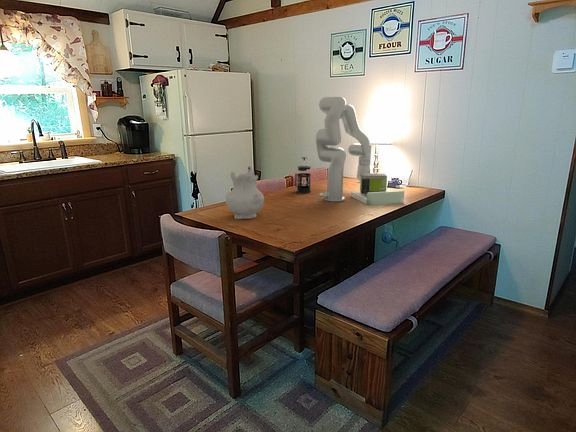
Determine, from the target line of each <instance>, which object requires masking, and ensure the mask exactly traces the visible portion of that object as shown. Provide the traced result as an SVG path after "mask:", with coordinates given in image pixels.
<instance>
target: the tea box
mask: <svg viewBox="0 0 576 432" xmlns="http://www.w3.org/2000/svg"><path fill="white" fill-rule="evenodd" d="M387 176H388V175H387V174H385V173H382V172H381V173H371V172H370V173H367V174H365V173H361V184H360V183H359V185H360V186H359V191H360V192H359V194H360V195H362V196H364V197H367V193H369V192H385V191H387V183H388V182H387V181H388V177H387Z"/></svg>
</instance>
